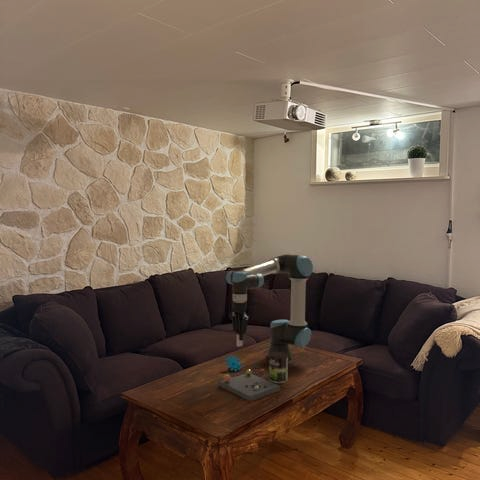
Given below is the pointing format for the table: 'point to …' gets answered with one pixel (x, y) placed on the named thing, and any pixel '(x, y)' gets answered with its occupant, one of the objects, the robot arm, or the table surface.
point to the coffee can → (278, 367)
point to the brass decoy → (248, 372)
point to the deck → (250, 386)
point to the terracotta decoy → (227, 378)
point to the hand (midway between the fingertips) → (239, 345)
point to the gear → (233, 363)
